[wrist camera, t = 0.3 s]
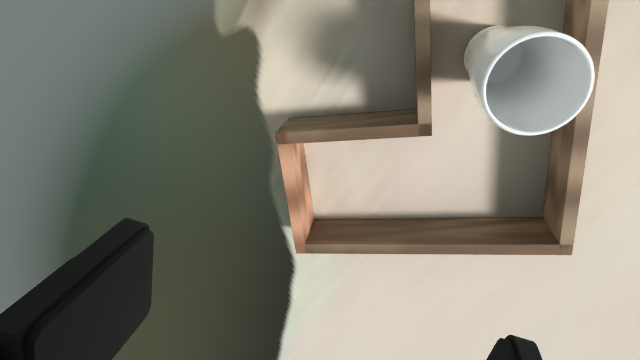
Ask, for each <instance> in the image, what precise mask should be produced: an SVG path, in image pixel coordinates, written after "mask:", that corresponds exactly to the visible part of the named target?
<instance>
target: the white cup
mask: <svg viewBox="0 0 640 360" xmlns="http://www.w3.org/2000/svg"><path fill="white" fill-rule="evenodd" d="M464 64H465V68H466V70H467V72H468V74H469V78H470V82H471V86H472V90H473V93H474V96H475V98H476V100H477V102H478V104H479V105H480V107H481V108H482V110H483V111H484V112H485V113H486V115H487V116H488V117H489V118H490V119H491V120H492V121H493V122H494V123H495V124H496V125H497V126H499V127H500V128H502V129H504V130H505V131H508V132H510V133H514V134H518V135H539V134H544V133H548V132H551V131H553V130H556V129H558V128H560V127H562V126H563V125H565V124H566V123H568V122H569V121H571V120H572V119H573V118H574V117H575V116H576V115H577V114H578V113H579V112H580V111H581V110H582V108H583V107H584V106H585V104H586V103H587V101H588V99H589V97H590V95H591V92H592V89H593V85H594V78H595V73H594V65H593V61H592V59H591V56H590V55H589V53H588V51H587V50H586V48H585V47H584V46H583V45H582V44H581V43H580V42H579V41H577V40H576V39H574V38H573V37H571V36H569V35H566V34H564V33H561V32H559V31H556V30H553V29H549V28H546V27H540V26H511V27H505V26H492V27H488V28H485V29H483V30H481V31H480V32H478V33H477V34H476V35H475V36H474V37H473V38H472V39H471V40H470V42H469V43H468V45H467V47H466V50H465V54H464Z"/></svg>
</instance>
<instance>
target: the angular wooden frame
mask: <svg viewBox="0 0 640 360" xmlns="http://www.w3.org/2000/svg"><path fill="white" fill-rule="evenodd" d="M608 2H609V0H566V6H565V16H564V25H563V33H564V34H566V35H569V36H571V37H573V38H574V39H576V40H577V41H579V42H580V43H581V44H582V45H583V46H584V47H585V48H586V50H587V51H588V53H589V55H590V56H591V59H592V61H593V65H594V73H595V78H594V85H593V89H592V92H591V95H590V97H589V99H588V101H587V103H586V104H585V106H584V107H583V108H582V110H581V111H580V112H579V113H578V114H577V115H576V116H575V117H574V118H573V119H572V120H571V121H569V122H568V123H566V124H565V125H563V126H562V127H560V128H558V129H556V130H553V131H552V137H551V146H550V156H549V165H548V174H547V184H546V193H545V202H544V212H543V217H519V218H440V219H362V220H315V219H314V212H313V205H312V199H311V192H310V185H309V178H308V171H307V164H306V158H305V151H304V144H303V143H312V142H329V141H347V140H364V139H382V138H399V137H417V136H432V117H431V49H430V0H414V28H415V62H416V96H417V109H410V110H397V111H383V112H369V113H355V114H341V115H327V116H313V117H299V118H289V119H288V120H287V121H286V122H285V123H284V124H283V126H282V127H281V128H280V129H279V130H278V131H277V132H276V133H275V134H276V140H277V146H278V152H279V157H280V163H281V169H282V175H283V180H284V186H285V192H286V198H287V204H288V209H289V215H290V221H291V227H292V232H293V238H294V244H295V250H296V253H330V254H492V255H572V250H573V243H574V236H575V229H576V222H577V215H578V209H579V202H580V195H581V188H582V181H583V174H584V167H585V160H586V153H587V147H588V140H589V133H590V126H591V119H592V112H593V105H594V98H595V91H596V85H597V78H598V71H599V64H600V57H601V50H602V43H603V36H604V30H605V23H606V16H607V9H608Z"/></svg>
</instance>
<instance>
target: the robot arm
mask: <svg viewBox="0 0 640 360" xmlns="http://www.w3.org/2000/svg"><path fill="white" fill-rule="evenodd" d="M153 242H154V234H153V232H152V231H150V230H149V226H148V225H147V224H146V223H142V222H139V221H136V220H132V219H129V218H125V219H123V220H122V221H120V222H119V223H118V224H117V225H115V226H114V227H113V228H112V229H110V230H109V231H108V232H106V233H105V234H104V235H103V236H101V237H100V238H99V239H98V240H96V241H95V242H94V243H92V244H91V245H90V246H89V247H87V248H86V249H85V250H84V251H82V252H81V253H80V254H79V255H77V256H76V257H74V258H72V259H70V260H69V261H67V262H66V263H65V264H64V265H62V266H61V267H60V268H59V269H57V270H56V271H55V272H53V273H52V274H51V275H50V276H48V277H47V278H46V279H45V280H43V281H42V282H41V283H40V284H38V285H37V286H36V287H34V288H33V289H32V290H31V291H29V292H28V293H27V294H26V295H24V296H23V297H22V298H21V299H19V300H18V301H17V302H15V303H14V304H13V305H11V306H10V307H9V308H8V309H6V310H5V311H4V312H3V313H1V314H0V360H112V359H113V358H114V356H115V355H116V354H117V353H118V351H119V350H120V349H121V348H122V346H123V345H124V344H125V343H126V341H127V340H128V339H129V338H130V336H131V335H132V334H133V333H134V331H135V330H136V329H137V328H138V326H139V325H140V324H141V323H142V322H143V320H144V319H145V318H146V316H147V314H148V312H149V310H150V307H151V291H152V267H153V265H152V264H153ZM487 360H542V358H541V355H540V352H539V350H538V347H537V345H536V343H534V342H533V341H530V340H526V339H523V338H520V337H517V336H513V335H508V336H507V337H506V338H505V339H503V338H500V339H499V340H498V341H497V342H496V344H495V346H494V348H493V349H492V351H491V353H490V354H489V356H488V358H487Z"/></svg>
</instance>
